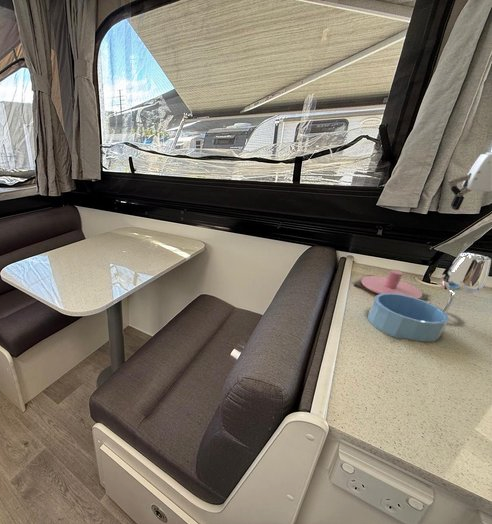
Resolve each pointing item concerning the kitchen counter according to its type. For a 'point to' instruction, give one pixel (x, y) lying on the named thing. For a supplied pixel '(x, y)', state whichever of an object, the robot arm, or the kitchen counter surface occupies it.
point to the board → (377, 293)
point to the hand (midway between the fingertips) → (477, 210)
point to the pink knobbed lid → (391, 285)
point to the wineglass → (465, 275)
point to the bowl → (407, 317)
